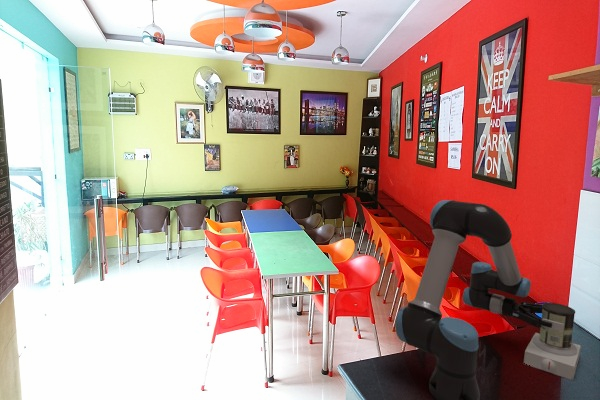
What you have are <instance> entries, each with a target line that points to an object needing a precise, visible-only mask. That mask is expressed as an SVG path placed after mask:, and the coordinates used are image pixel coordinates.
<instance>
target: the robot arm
mask: <svg viewBox="0 0 600 400" xmlns="http://www.w3.org/2000/svg"><path fill="white" fill-rule="evenodd" d="M429 219H430V220H429V225H430V227H431V228H432V230H431V231H432V234H433V235H434V239H433V242H432V245H431V247H430V251H429V253H428V256H427V259H426V263H425V267H424V269H423V272H422V274H421V275H422V276H421V279H420V282H419V283H418V284H419V285H418V287H417V290H416V294H415V297H414V299H412V300H410V301H408V303H407V306H402V307H401V308H400V309H399V310H398V312H397V314H396V317H395V324H394V329H395V333H396V336H397V337H398V339H399V340H400V341H401V342H403V343H406V344H407V345H408V346H411V347H414V348H417V349H418V350H421V351H422V352H426V353H428V354H430V355H432V356H435V358H436V364H435V365H436V366H435V368H434V371H433V372H432V374H431V376H430V378H429V381H428V382H429V383H428V390H429V392H430V394H431V395H432V397H433V398H435V400H480V397H481V393H480V392H481V391H480V388H479V384H478V381H477V376H476V370H477V362H478V352H479V351H478V350H479V347H480V346H479V333H478V331H477V330H476V328H475V326H473V325H472V324H471V323H469V322H467V321H465V320H463V319H460V318H457V317H453V316H445V317H442V316H443V314H442V311H441V310H440V308H441V304H442V300H443V298H444V294H445V291H446V288H447V285H448V281H449V278H450V275H451V272H452V268H453V266H454V262H455V259H456V256H457V252H458V250H459V246H460V244H463V243H465V242H466V239H467V236H469V237H476V238H478V239H481V241H482V242H483V244H484V245H486V246H487V248H488V250H489V251H488V252H489V253H490V255H491V258H492V261H493V264H494V267H495V269H496V270H494V269H493V268H492V265H491V264H490V263H487V262H483V261H475V262H472V264H471V265H472V266H471V270H470V280H469V281H470V283H469V287H468V286H467V287H465V288H464V290H463V292H462V293H463V295H462V302H463V303H464V305H467V306H470V307H472V308H475V309H480V310H482V311H483V310H484V311H488V312H491V313H493V314H495V315H496V314H498V315H502V316H506V317H509V318H515V319H518V320H520V321H522V322H524V323H527V324H529V325H530V326H533V327H535V328H538V329H540V328H541V325H542V326H544V327H547V328H551V329H555V330H558V331H562V332H563V327H564V324H562V323H558V322H555V321H551V320H547V319H542V318H540V317H538V316H537V315H535V314H542V309H543V307H542V305H543V304H542V303H529V302H525V301H520V303H517V300H516V298H513V297H509V296H504V295H501V294H496V293H492V292H490V289H491V290H495V291H497V292H498V291H499V292H501V293H505V294H509V295H513V296H515V297H521V298H527V297H528V296H529V294H530V291H531V289H532V287H531V286H532V283H531V282H532V281H531V279H529V278H527V277H524V276H522V275H521V272H520V268H519V265H518V261H517V258H516V255H515V253H514V249H513V246H512V241H511V240H512V237H513V234H512V230H511V228H510V226H509V224H508V222H507V221H506V220H505V218H504V217H503V216H502V215H501V214H500V213H499V212H498V211H496V210H495V209H494V208H492V207H490V206H489V205H486V204H483V203H474V202H469V201H468V202H467V201H458V200H453V199H449V200H447V199H445V200H444V199H443V200H440V201H438V202H437V203H436V204H435V205H434V206H433V208H432V209H431V213H430V216H429Z"/></svg>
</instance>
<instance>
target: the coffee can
mask: <svg viewBox="0 0 600 400" xmlns="http://www.w3.org/2000/svg"><path fill="white" fill-rule="evenodd" d="M542 307H543V309H542V313H541V319H547V320H551V321H555V322H558V323H562V324H564V327H563V332H562V331H558V330H555V329H551V328H547V327H544V326H542V325H541V328H539V329H540V330H539V334H540V338H539V341H540V342H541V343H543V344H544V345H546V346H548V347H551V348H555V349H560V350H568V349H570V348H571V343H572V338H573V331H574V323H575V322H574V321H575V316H576V315H575V314H576V310H575V309H574V308H572V307H570V306H568V305H564V304H561V303H555V302H545V303H543V304H542Z"/></svg>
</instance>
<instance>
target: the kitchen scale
mask: <svg viewBox="0 0 600 400" xmlns="http://www.w3.org/2000/svg"><path fill="white" fill-rule="evenodd" d="M539 338H540V332H539V333H538V332H535V333H534V335H533V336H532V337H531V340H530V342H529V343H528V345H527V347H526V349H525V351H524V358H523V364H524V363H525V364H524V365H526V364H527V365H526V366H529V365H530V366H529V367H532V368H535V369H538V370H541V371H544V372H547V373H550V374H553V375H556V376H559V377H562V378H564V379H567V380H570V381H574V379H575V378H574V377H575V375H576V371H577V367H578V363H579V359H580V355H581V345H580V344H577V343H573V342H571V348H570V349H568V350H560V349H555V348H551V347H548V346H546V345H544V344H543V343H541V342H540V341H539Z"/></svg>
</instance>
